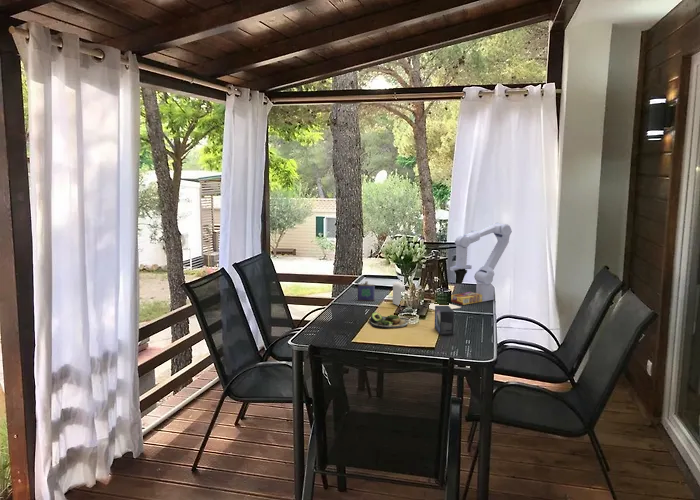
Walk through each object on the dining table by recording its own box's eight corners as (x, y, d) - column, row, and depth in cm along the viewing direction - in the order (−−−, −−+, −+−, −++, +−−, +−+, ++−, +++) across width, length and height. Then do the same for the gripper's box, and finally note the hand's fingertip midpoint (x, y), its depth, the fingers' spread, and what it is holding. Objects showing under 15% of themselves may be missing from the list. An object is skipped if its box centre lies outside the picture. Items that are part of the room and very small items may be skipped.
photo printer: (391, 303, 289) (392, 280, 287) (398, 302, 291) (398, 280, 289) (401, 307, 280) (402, 284, 278) (408, 307, 282) (409, 283, 280)
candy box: (462, 305, 287) (482, 301, 295) (463, 298, 286) (482, 294, 294) (450, 302, 294) (470, 298, 302) (450, 294, 293) (470, 291, 302)
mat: (442, 302, 293) (442, 301, 293) (461, 307, 282) (461, 306, 281) (420, 305, 284) (420, 305, 284) (438, 311, 273) (438, 310, 273)
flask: (374, 300, 296) (374, 280, 294) (374, 301, 293) (374, 281, 292) (357, 299, 296) (357, 280, 295) (357, 300, 294) (357, 281, 292)
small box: (433, 327, 244) (434, 305, 242) (447, 327, 245) (448, 305, 243) (439, 334, 234) (440, 311, 232) (453, 334, 234) (454, 311, 233)
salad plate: (403, 318, 261) (404, 308, 261) (416, 328, 244) (416, 318, 244) (365, 319, 257) (365, 310, 256) (375, 330, 240) (375, 320, 239)
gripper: (465, 256, 300) (464, 280, 302) (446, 257, 292) (445, 282, 294) (474, 258, 294) (473, 282, 296) (455, 259, 286) (454, 284, 288)
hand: (460, 282), depth 294 cm, fingers closed
